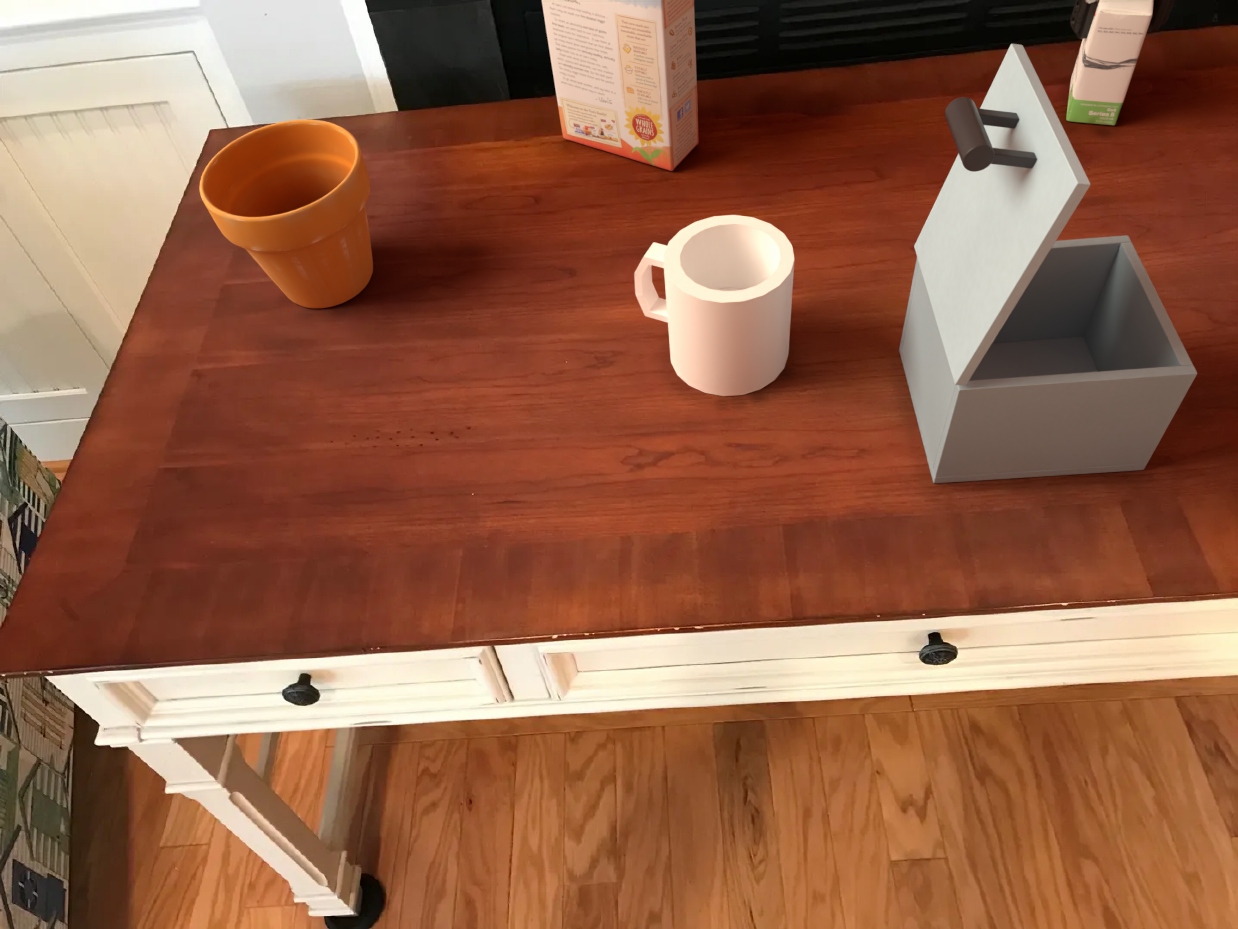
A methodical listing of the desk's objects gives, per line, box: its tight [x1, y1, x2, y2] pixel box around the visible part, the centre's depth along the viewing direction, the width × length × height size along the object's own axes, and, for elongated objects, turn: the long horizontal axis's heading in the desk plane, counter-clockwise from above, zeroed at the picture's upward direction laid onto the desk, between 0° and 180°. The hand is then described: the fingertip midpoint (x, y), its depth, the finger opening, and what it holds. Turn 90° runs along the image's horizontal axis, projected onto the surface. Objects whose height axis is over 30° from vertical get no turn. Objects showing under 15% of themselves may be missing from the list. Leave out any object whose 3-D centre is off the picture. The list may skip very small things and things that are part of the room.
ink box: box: [1065, 0, 1154, 126], centre depth 97 cm, size 9×5×12 cm, turn 160°
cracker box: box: [541, 0, 700, 172], centre depth 96 cm, size 14×6×21 cm, turn 57°
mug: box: [633, 214, 795, 397], centre depth 81 cm, size 14×10×11 cm
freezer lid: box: [913, 43, 1092, 386], centre depth 63 cm, size 16×14×5 cm
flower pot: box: [198, 119, 374, 309], centre depth 91 cm, size 14×14×13 cm
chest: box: [898, 234, 1198, 484], centre depth 74 cm, size 16×14×11 cm
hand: (1115, 30), depth 96 cm, fingers closed on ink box, 6 cm apart
